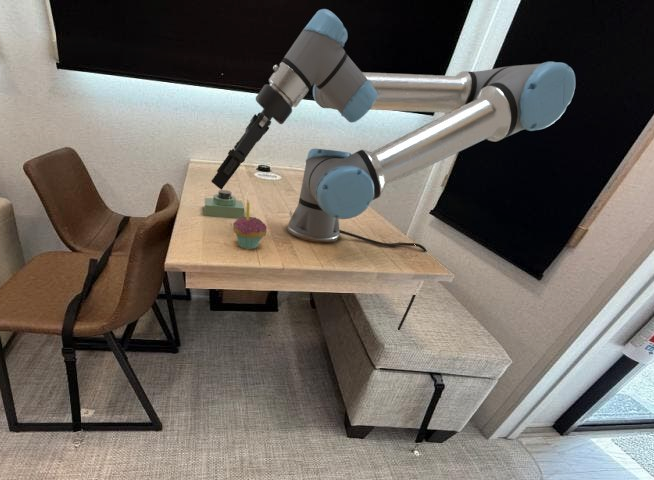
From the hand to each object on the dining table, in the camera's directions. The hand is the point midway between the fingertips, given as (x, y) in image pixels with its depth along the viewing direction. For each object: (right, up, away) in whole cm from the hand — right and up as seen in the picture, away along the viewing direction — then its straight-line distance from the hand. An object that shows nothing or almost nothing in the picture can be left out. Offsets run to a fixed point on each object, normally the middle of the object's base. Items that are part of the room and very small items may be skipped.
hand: (218, 179), depth 75 cm
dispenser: (-2, 0, +29) cm, 29 cm away
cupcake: (+6, -14, +9) cm, 18 cm away
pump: (-1, +4, +27) cm, 27 cm away
